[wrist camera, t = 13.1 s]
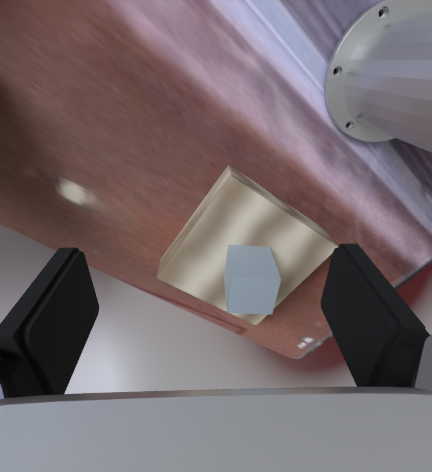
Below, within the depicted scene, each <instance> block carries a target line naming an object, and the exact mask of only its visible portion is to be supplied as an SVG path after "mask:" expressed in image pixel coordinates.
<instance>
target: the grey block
mask: <svg viewBox="0 0 432 472" xmlns="http://www.w3.org/2000/svg"><path fill="white" fill-rule="evenodd" d="M280 282H281V278H280V275H279V272H278V269H277V266H276V263H275V260H274V258H273V255H272V252H271V249H270V247H262V246H243V245H228V250H227V257H226V265H225V273H224V284H225V295H226V306H227V313H242V314H271V315H272V313H273V309H274V305H275V301H276V297H277V294H278V290H279V286H280Z"/></svg>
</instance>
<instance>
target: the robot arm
mask: <svg viewBox="0 0 432 472" xmlns="http://www.w3.org/2000/svg"><path fill="white" fill-rule="evenodd" d="M379 11H381V15H380V16H379ZM335 68H336V70H337V71H336V73H335V74H333V71H334V69H335ZM324 95H325V103H326V107H327V111H328V113H329V115H330V117H331V119H332V121H333V122H334V124H335V125H336V126H337V127H338V128H339V129H340V130H341V131H342V132H344V133H345V134H346V135H348V136H350V137H352V138H354V139H357V140H360V141H364V142H383V141H388V140H391V139H395V138H397V139H400V140H402V141H404V142H407V143H409V144H412V145H414V146H417V147H419V148H422V149H424V150H426V151H429V152H431V153H432V0H384V1H382V2H380V3H378V4H376V5H375V6H373V7H371V8H369V9H368V10H366V11H365V12H364V13H363V14H362V15H361V16H359V17H358V18H357V19H356V20H355V21H354V22H353V23H352V24H351V25H350V27H349V28H348V29H347V30H346V31H345V32H344V34H343V35H342V37H341V38H340V40H339V42H338V43H337V45H336V47H335V49H334V51H333V53H332V55H331V58H330V60H329V63H328V67H327V71H326V75H325V83H324ZM347 123H348V126H346V124H347ZM321 308H322V311H323V313H324V315H325V318H326V320H327V322H328V324H329V326H330V328H331V331H332V333H333V335H334V337H335V339H336V342H337V344H338V346H339V348H340V350H341V352H342V355H343V357H344V359H345V361H346V363H347V366H348V368H349V370H350V372H351V374H352V376H353V379H354V381H355V383H356V385H357V387H305V388H260V389H259V388H257V389H216V390H182V391H180V390H179V391H145V392H113V393H84V394H64V393H65V390H66V388H67V386H68V384H69V381H70V379H71V376H72V374H73V372H74V369H75V367H76V365H77V362H78V360H79V358H80V355H81V353H82V351H83V348H84V346H85V344H86V341H87V339H88V337H89V334H90V331H91V329H92V327H93V325H94V322H95V320H96V318H97V315H98V312H99V304H98V300H97V297H96V293H95V290H94V286H93V283H92V279H91V276H90V272H89V269H88V265H87V262H86V258H85V255H84V253H83V252H82V251H79V249H78V248H59V249H58V250H57V252H56V253H55V254H54V256H53V257H52V258H51V259H50V261H49V262H48V263H47V264H46V266H45V267H44V268H43V270H42V271H41V272H40V273H39V275H38V276H37V278H36V279H35V280H34V281H33V282H32V284H31V285H30V286H29V288H28V289H27V290H26V292H25V293H24V294H23V296H22V297H21V298H20V299H19V301H18V302H17V303H16V304H15V306H14V307H13V308H12V310H11V311H10V312H9V313H8V315H7V316H6V317H5V319H4V320H3V321H2V323H1V324H0V472H432V335H431V336H430V334H429V333H428V332H427V331H426V329H425V326H424V325H423V324H422V322H421V321H420V320H419V319H418V317H417V316H416V315H415V314H414V313H413V311H412V310H411V309H410V308H409V306H408V305H407V304H406V303H405V301H404V300H403V299H402V298H401V297H400V295H399V294H398V293H397V292H396V290H395V289H394V288H393V287H392V285H391V284H390V283H389V282H388V281H387V279H386V278H385V277H384V276H383V274H382V273H381V272H380V271H379V269H378V268H377V267H376V266H375V265H374V263H373V262H372V261H371V260H370V258H369V257H368V256H367V255H366V254H365V252H364V251H363V250H362V249H361V247H360V246H359V245H358V244H340V245H339V247H338V248H335V249H334V251H333V255H332V259H331V263H330V267H329V271H328V275H327V279H326V283H325V287H324V290H323V294H322V298H321Z"/></svg>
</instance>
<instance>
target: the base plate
mask: <svg viewBox="0 0 432 472" xmlns="http://www.w3.org/2000/svg"><path fill="white" fill-rule="evenodd" d="M228 245H243V246H262V247H270V249H271V252H272V255H273V258H274V260H275V263H276V266H277V269H278V272H279V275H280V278H281V282H280V286H279V290H278V294H277V297H276V301H275V305H274V308H275V307H276V306H277V305H278V304H279V303H280V302H281V301H282V300H283V299H285V298H286V297H287V296H288V295H289V294H290V293H291V292H292V291H293V290H294V289H295V288H296V287H297V286H298V285H299V284H300V283H301V282H302V281H303V280H305V279H306V278H307V277H308V276H309V275H310V274H311V273H312V272H313V271H314V270H315V269H316V268H317V267H318V266H319V265H320V264H321V263H322V262H323V261H325V260H326V259H327V258H328V257H329V256H330V255H331V254H332V253H333V251H334V249H335V248H338V246H337V244H336V243H335V241H334V240H333V239H332V237H331V236H330V234H329V233H328V232H327V230H325V229H324V228H322V227H321V226H319V225H318V224H316V223H315V222H313V221H312V220H310V219H309V218H307V217H306V216H304V215H303V214H301V213H300V212H299V211H297V210H296V209H294V208H293V207H291V206H290V205H288V204H287V203H285V202H284V201H282V200H281V199H279V198H278V197H276V196H275V195H273V194H272V193H270V192H269V191H267V190H266V189H264V188H263V187H262V186H260V185H259V184H257V183H256V182H254V181H253V180H251V179H250V178H248V177H247V176H245V175H244V174H242V173H241V172H239V171H238V170H236V169H235V168H233V167H232V166H230V165H229V164H228V166H227V167H226V169H225V170H224V171H223V173H222V174H221V176H220V177H219V178H218V180H217V181H216V183H215V184H214V185H213V187H212V188H211V190H210V191H209V192H208V194H207V195H206V197H205V198H204V199H203V201H202V202H201V204H200V205H199V206H198V208H197V209H196V211H195V212H194V213H193V215H192V216H191V218H190V219H189V220H188V222H187V223H186V225H185V226H184V227H183V229H182V230H181V232H180V233H179V234H178V236H177V237H176V239H175V240H174V241H173V243H172V244H171V246H170V247H169V248H168V250H167V251H166V253H165V254H164V255H163V257H162V258H161V260H160V265H159V269H158V274H157V279H159V280H161V281H164V282H166V283H168V284H170V285H172V286H174V287H176V288H178V289H180V290H182V291H185V292H187V293H189V294H191V295H193V296H195V297H197V298H199V299H201V300H203V301H206V302H208V303H210V304H212V305H214V306H216V307H218V308H220V309H222V310H224V311H227V306H226V295H225V284H224V273H225V265H226V257H227V250H228ZM231 314H233V315H235V316H237V317H239V318H241V319H243V320H245V321H248V322H250V323H252V324H254V325H257V324H258V323H259V322H260V321H261V320H262V319H263V318H264V317H266V316H267V315H268V314H242V313H231Z"/></svg>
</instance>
